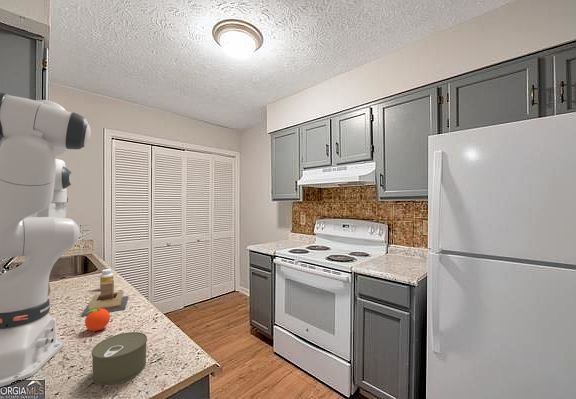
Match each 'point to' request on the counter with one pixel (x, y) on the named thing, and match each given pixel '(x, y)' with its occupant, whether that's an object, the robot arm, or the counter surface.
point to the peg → (107, 290)
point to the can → (119, 358)
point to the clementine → (97, 319)
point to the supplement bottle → (106, 276)
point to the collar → (107, 303)
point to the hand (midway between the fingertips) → (52, 232)
